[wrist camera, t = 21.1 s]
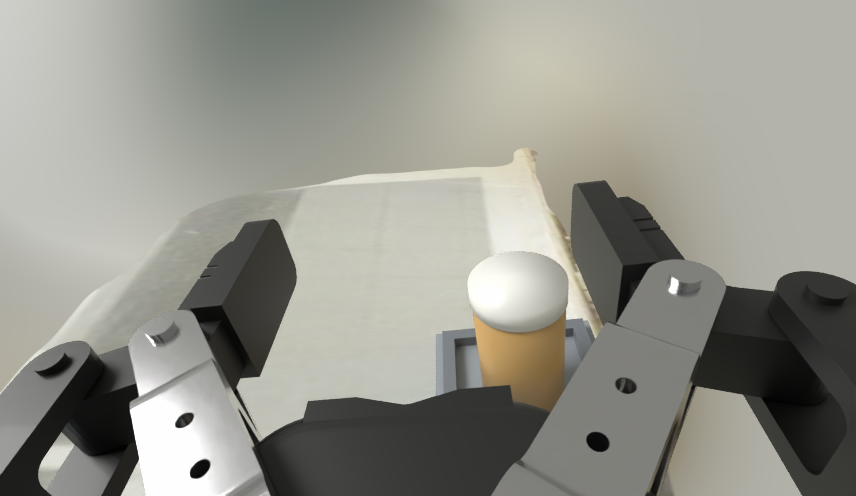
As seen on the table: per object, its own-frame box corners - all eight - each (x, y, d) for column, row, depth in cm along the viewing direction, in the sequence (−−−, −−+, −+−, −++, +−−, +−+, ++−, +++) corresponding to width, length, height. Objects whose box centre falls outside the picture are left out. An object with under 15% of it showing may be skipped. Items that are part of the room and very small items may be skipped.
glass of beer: (484, 429, 33) (468, 319, 26) (480, 361, 38) (466, 256, 32) (573, 425, 32) (578, 310, 26) (556, 356, 37) (558, 247, 31)
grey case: (448, 530, 34) (434, 473, 30) (445, 384, 45) (434, 326, 41) (633, 521, 33) (647, 459, 28) (583, 373, 44) (588, 312, 39)
